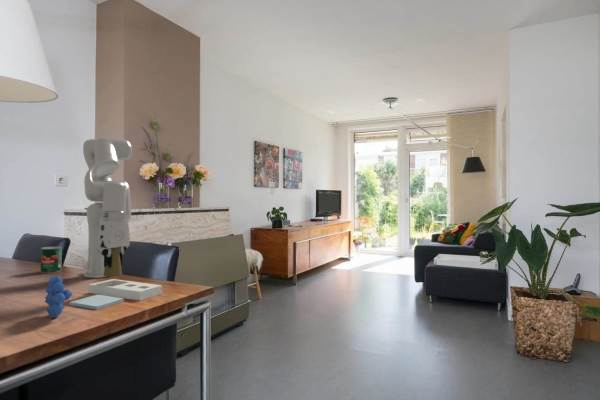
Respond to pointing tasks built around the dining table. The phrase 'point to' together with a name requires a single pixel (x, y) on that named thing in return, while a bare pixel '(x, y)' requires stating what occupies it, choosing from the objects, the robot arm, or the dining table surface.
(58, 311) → the grapes
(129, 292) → the white board with cutout
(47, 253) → the canned tomato
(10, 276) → the dining table surface
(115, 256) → the olive rounded piece
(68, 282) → the dining table surface
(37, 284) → the dining table surface
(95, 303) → the rubber mat
